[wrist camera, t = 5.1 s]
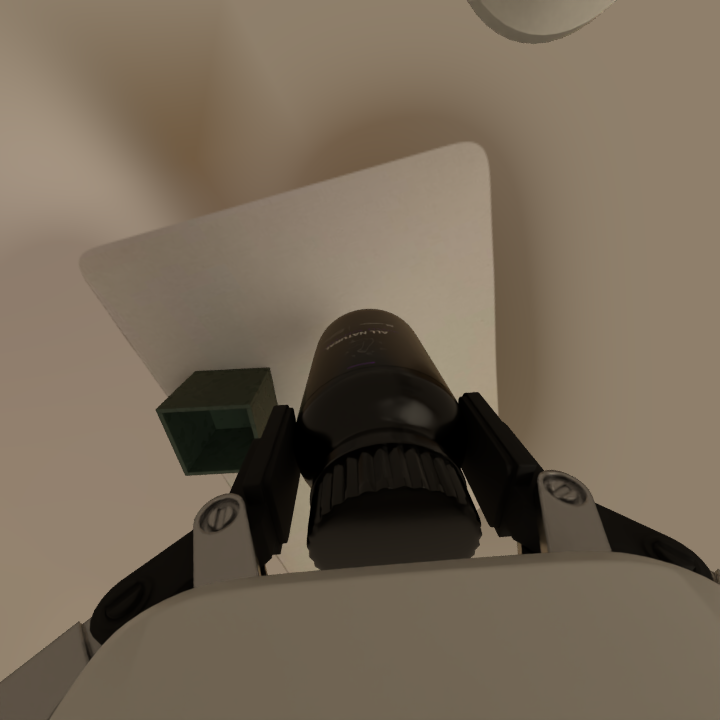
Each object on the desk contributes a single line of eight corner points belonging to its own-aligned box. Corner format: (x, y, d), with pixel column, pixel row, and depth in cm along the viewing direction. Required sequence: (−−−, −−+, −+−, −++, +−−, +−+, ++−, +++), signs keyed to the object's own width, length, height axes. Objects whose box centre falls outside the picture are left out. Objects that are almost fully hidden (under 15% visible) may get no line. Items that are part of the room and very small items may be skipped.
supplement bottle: (358, 282, 16) (390, 396, 5) (439, 348, 18) (580, 526, 7) (293, 365, 18) (219, 569, 7) (372, 415, 20) (405, 631, 9)
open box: (194, 371, 37) (155, 409, 29) (269, 367, 37) (249, 404, 29) (215, 429, 41) (185, 476, 34) (281, 425, 41) (267, 471, 34)
